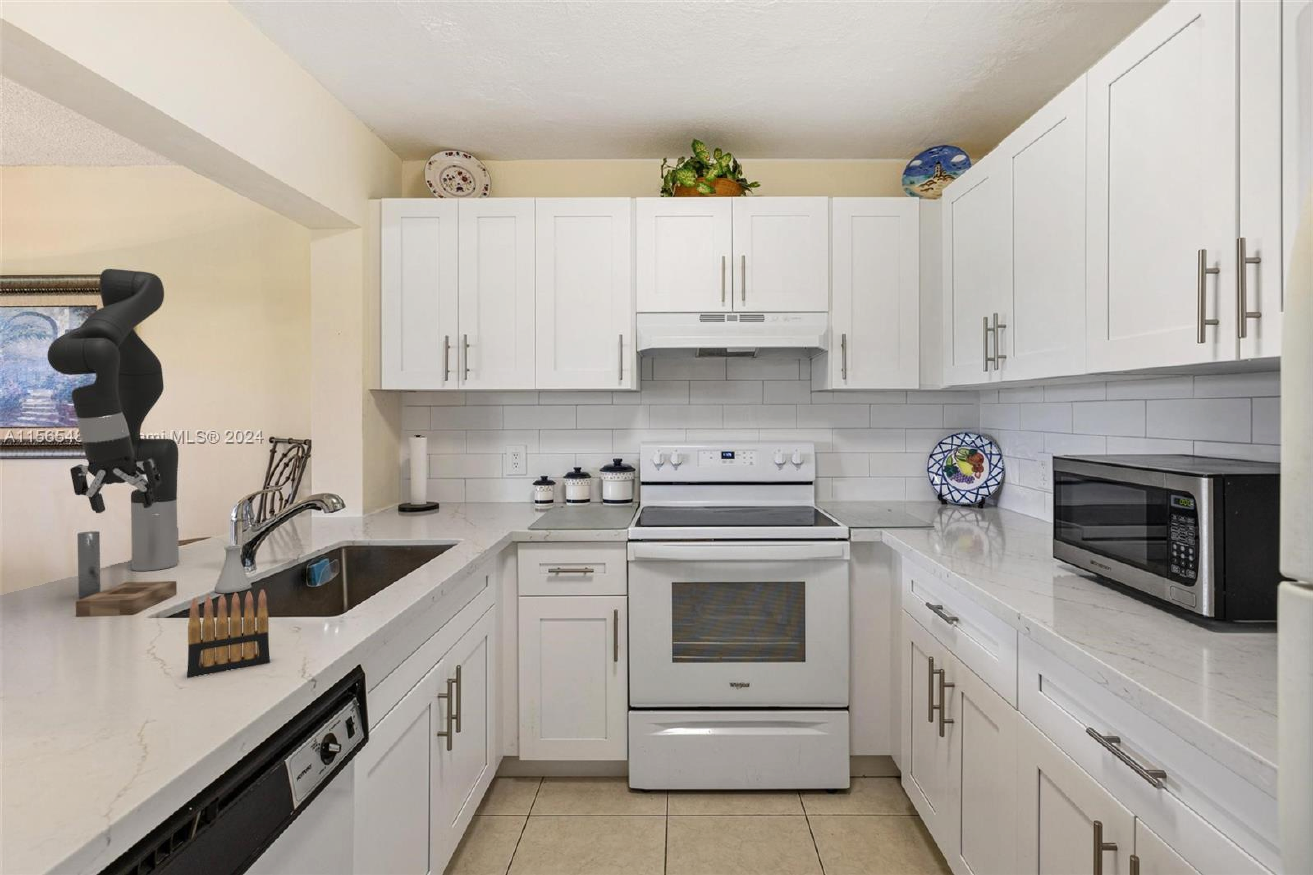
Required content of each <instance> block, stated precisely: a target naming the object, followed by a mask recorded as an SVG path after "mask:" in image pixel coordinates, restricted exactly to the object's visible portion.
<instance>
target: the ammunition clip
mask: <svg viewBox="0 0 1313 875" xmlns="http://www.w3.org/2000/svg"><path fill="white" fill-rule="evenodd" d="M240 601H241V600H240V597H239V595H238V593H237V592H233V595H232V599H231V604H230V617H229V616H228V606H227V600H226V597H225V595H224V593H220V596H219V598H218V602H217V604H218V605H217V613H216V614H217V616H216V621H215V616H214V607H213V606H214V605H213V601H212V598H211V596H210V595H208V596H207V597H206V599H205V601H204V607H203V620H202V623H201V618H200V617H201V615H200V607H199V603H198V600H197V597H193V598H192V599H191V603H190V606H189V618H188V619H189V620H188V626H187V672H186V677H187V678H188V679H189V678H195V677H194V676H196V677H200V676H199V675H201V676H205V675H204V674H207V675H211V674H210V673H212V674H217V673H222V672H227V671H226V670H229V671H232V670H231V669H234V670H238V668H240V669H244V668H250V667H255V666H261V665H266V664H270V663H271V659H270V658H271V657H270V643H269V642H270V641H269V639H270V638H269V637H270V636H269V635H270V634H269V631H270V630H269V612H268V604H267V603H268V602H267V595H266V592H265V590H264V589H260V592H259V595H258V601H257V613H256V615H255V607H254V605H255V604H254V597H253V595H252V592H251V591H250V590H248V591H247V593H246V596H245V600H244V614H243V617H242V613H241V612H242V611H241V602H240ZM228 617H229V618H228ZM242 618H243V619H242Z"/></svg>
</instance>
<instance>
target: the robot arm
mask: <svg viewBox="0 0 1313 875" xmlns="http://www.w3.org/2000/svg"><path fill="white" fill-rule="evenodd" d="M99 292H100V297H101V303H102V306H103V307H100V308H99V309H97V310H95V311H93V312H92V313H91V314H90V315H89V316H88V317H87V318H86V319H85V320H84V321H83V323H82V324H81V325H80V326H79V327H77V328H74V329H72V330H70V331H67V333H64V334H62V335H61V336H59V337H57V338H55V340H54V341H53V342H51V344H50V345H49V347H48V350H47V361H48V362H49V366H51V368H52V369H54V370H55V371H56V372H58V373H60V374H62V375H69V376H70V375H71V376H73V375H74V376H75V375H89V374H90V375H91V374H92V375H93V374H95V375H96V377H95V380H94V382H93V383H91V384H87V385H83V386H80V387H76V388H74V389H73V390H72V392H71V399H72V403H73V406H74V407H73V408H74V411H75V414H76V418H77V429H78V432H79V437H80V439H81V444H82V447H83V451H84V454H85V457H86V460H87V462H88V465H83V464H78V465H75V466H73V467H71V468H70V470H69V471H70V476H71V481H72V486H73V492H74V494H75V495H77V496H81V495H82V496H86V497H87V498H88V500H89V503H90V508H91V510H92V511H93V512H95V513H96V514H102V513H103V512H105V511H106V506H105V502H104V499H103V494H102V493H100V492H101V490H102V488H103V487H104V485H112V484H125V483H127V484H129V485H130V486H134V487H135V488H136V489H134V490H132V491H131V492H130V515H131V517H130V521H131V522H130V524H131V525H130V526H131V528H130V529H131V534H130V535H131V570H132V571H135V572H136V571H137V572H140V571H141V572H144V571H147V572H148V571H156V570H157V571H158V570H163V569H169V568H172V567H175V566H177V565H178V564H179V563H180V557H179V556H180V555H179V551H180V549H179V544H180V543H179V541H180V540H179V527H178V509H177V508H178V497H177V496H178V468H179V447H178V444H177V442H176V440H173V439H171V438H141V429H142V425H143V423H144V421H145V420H146V419H145V418H147V415H148V414H149V413H150V411H151V410H152V409H153V407H154V406H155V405H156V403H157V402H158V401H159V399H160V398H161V395H162V394H163V392H164V386H165V385H164V378H163V377H164V376H163V368H162V363H161V361H160V359H159V358H158V357H157V355H156V354H155V353H154V351H152V349H151V348H150V347H149V346H148V345H147V344H146V342H144V341H143V339H142V338H141V337H140V336H139V335H138V334H137V332H136V331H135V329H134V328H136V327H137V326H138V325H140V324H141V323H142V322H144V321H145V320H147V318H149V317H150V316H151V315H153V314H154V313H156V312H157V311H159V310H160V308H161V307H162V305H163V304H164V298H165V290H164V284H163V282H162V280H161V278H160V277H159V276H158V275H156V274H155V273H152V272H147V271H139V270H137V271H136V270H126V269H116V268H106V269H104V270H103V271H102V272H101V273H100V277H99ZM88 474H91V475H92V476H93V477H94V479H92V481H91V483H90V485H88V480H87V475H88ZM145 476H146V478H145Z"/></svg>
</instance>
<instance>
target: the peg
mask: <svg viewBox="0 0 1313 875" xmlns="http://www.w3.org/2000/svg"><path fill="white" fill-rule="evenodd" d="M76 536H77V576H78V577H77V580H78V581H77V582H78V583H77V585H78V588H77V590H78V591H77V592H78V600H81V599H83V598H86V597H89V596H91V595H94V594H97V593H99V592H101V554H100V551H101V546H100V544H101V543H100V542H101V541H100V539H101V538H100V537H101V536H100V531H96V530H95V531H93V530H92V531H83V532H78V533H77V535H76Z"/></svg>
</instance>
